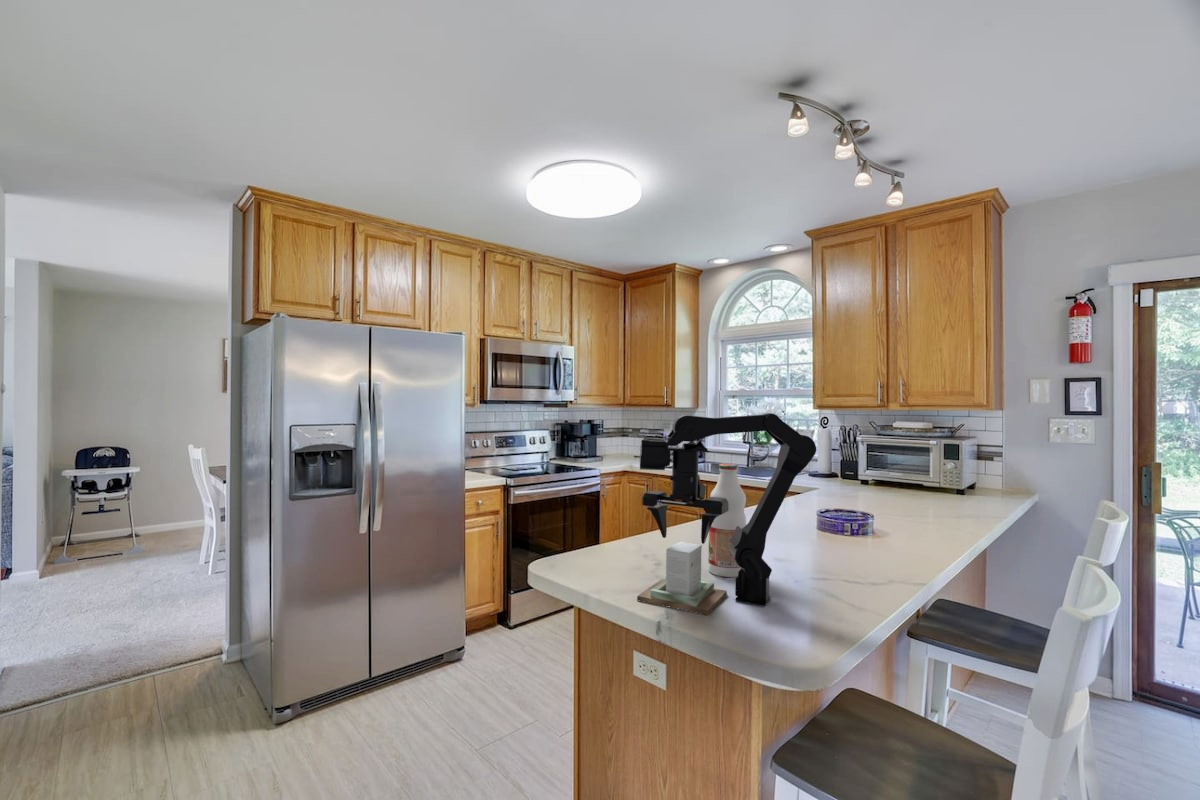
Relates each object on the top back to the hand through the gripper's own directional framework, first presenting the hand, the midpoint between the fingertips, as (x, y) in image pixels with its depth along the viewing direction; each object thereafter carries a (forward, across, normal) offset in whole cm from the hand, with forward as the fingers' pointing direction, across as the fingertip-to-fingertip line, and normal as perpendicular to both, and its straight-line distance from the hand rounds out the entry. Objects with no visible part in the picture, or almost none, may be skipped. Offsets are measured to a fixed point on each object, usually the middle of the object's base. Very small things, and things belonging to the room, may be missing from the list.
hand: (683, 540), depth 125 cm
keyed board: (+13, 0, 0) cm, 13 cm away
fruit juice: (+13, -3, -24) cm, 27 cm away
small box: (+12, 0, 0) cm, 12 cm away
